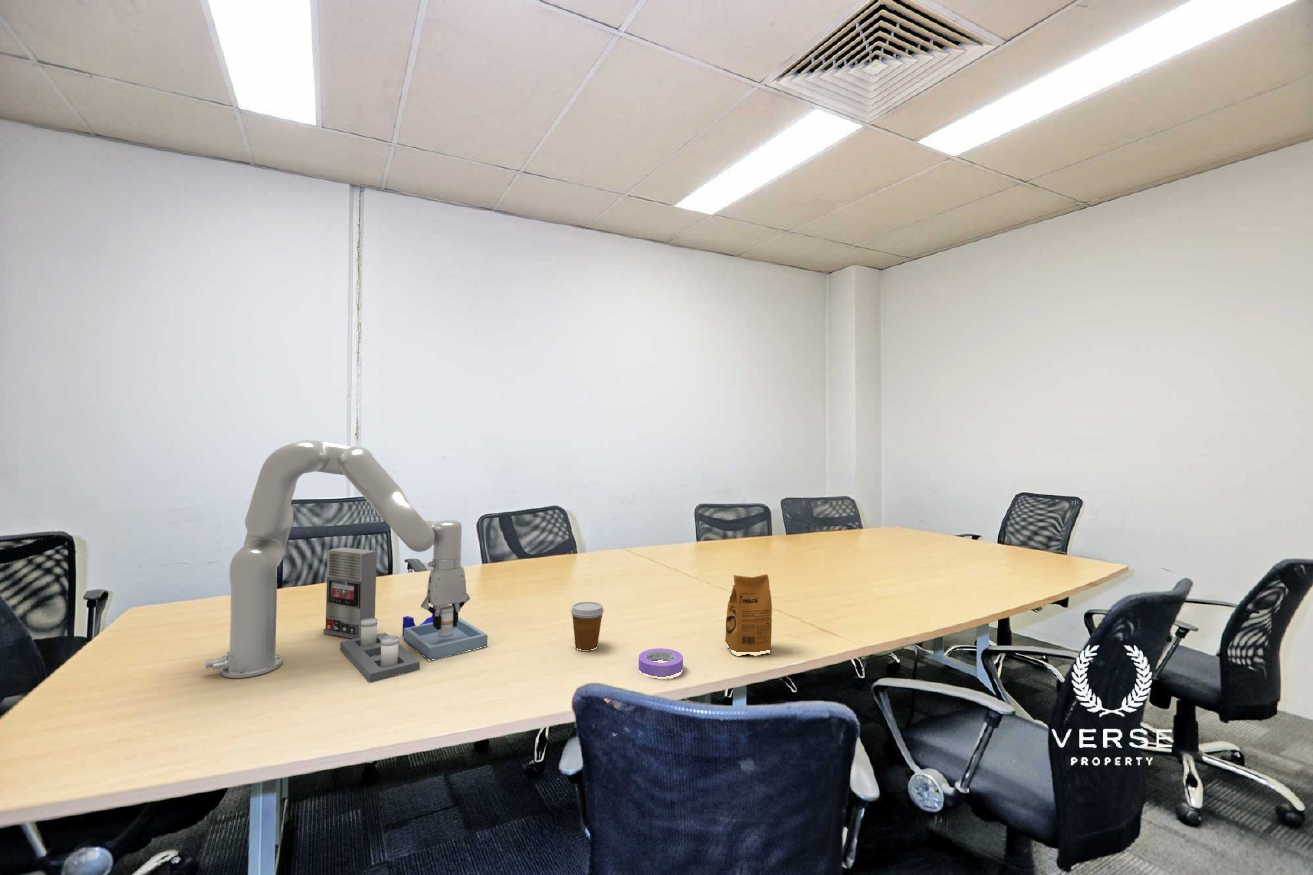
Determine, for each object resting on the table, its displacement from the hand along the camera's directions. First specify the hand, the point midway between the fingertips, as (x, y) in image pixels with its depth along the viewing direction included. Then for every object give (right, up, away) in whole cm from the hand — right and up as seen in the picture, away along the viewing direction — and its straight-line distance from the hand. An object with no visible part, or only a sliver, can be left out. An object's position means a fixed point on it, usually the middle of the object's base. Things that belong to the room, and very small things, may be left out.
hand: (445, 626), depth 162 cm
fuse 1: (-20, -4, -6) cm, 21 cm away
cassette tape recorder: (-31, -4, +6) cm, 32 cm away
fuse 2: (-7, -5, -19) cm, 21 cm away
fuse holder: (-13, -5, -12) cm, 19 cm away
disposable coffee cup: (+41, -6, 0) cm, 41 cm away
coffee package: (+88, -7, 0) cm, 88 cm away
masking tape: (+62, -7, -15) cm, 64 cm away
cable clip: (-11, -5, +9) cm, 15 cm away
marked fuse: (0, -2, 0) cm, 2 cm away
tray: (0, -5, 0) cm, 5 cm away
